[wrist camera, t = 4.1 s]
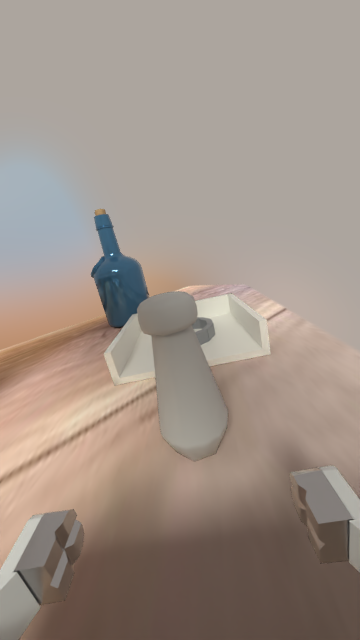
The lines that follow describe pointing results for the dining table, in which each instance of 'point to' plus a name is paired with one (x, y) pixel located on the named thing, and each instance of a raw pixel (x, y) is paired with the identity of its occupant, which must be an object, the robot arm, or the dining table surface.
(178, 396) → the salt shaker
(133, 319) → the box
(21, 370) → the dining table surface
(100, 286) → the wine bottle
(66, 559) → the robot arm
